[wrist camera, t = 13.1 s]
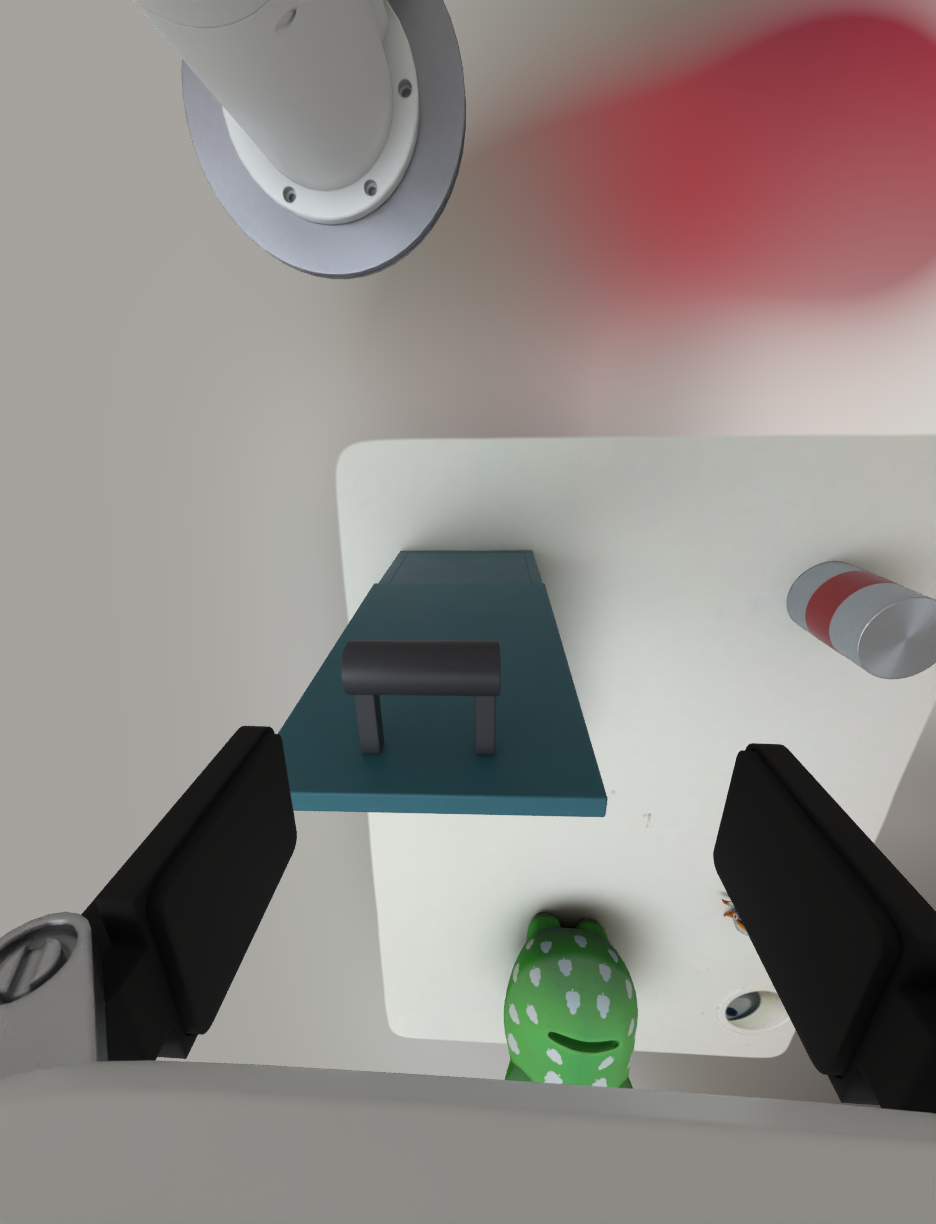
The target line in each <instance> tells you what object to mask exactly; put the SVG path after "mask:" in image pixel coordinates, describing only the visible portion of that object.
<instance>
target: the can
mask: <svg viewBox="0 0 936 1224" xmlns="http://www.w3.org/2000/svg"><path fill="white" fill-rule="evenodd" d="M787 609H788V613H789V615H790V617H791V619H792V620H793V621H794V622H795V623H796V624H797V625H799V626H800V627H802V628H803V629H805V630H806V631H808V632H809V633H811V634H812V635H814V636H815V637H816V638H818V639H819V640H821V641H822V642H824V643H825V644H827V645H828V646H829V647H831V648H832V649H834V650H835V651H837V652H838V653H840V654H841V655H843V656H845V657H846V658H848V659H849V660H851V661H852V662H854V663H855V664H857V665H858V666H860V667H861V668H863V669H864V670H866V671H867V672H869V673H870V674H872V675H874V676H876V677H880V678H885V679H900V678H906V677H909V676H913V675H915V674H918V673H920V672H922V671H924V670H926V669H927V668H929V667H930V666H932V665H933V664H934V663H936V600H935V599H933V598H930V597H928V596H925V595H923V594H920V593H918V592H916V591H913V590H911V589H908V588H906V587H904V586H901V585H899V584H897V583H894V582H892V581H889V580H887V579H884V578H882V577H880V576H877V575H875V574H872V573H869V572H867V571H864V570H862V569H859V568H857V567H854V566H852V565H849V564H847V563H843V562H827V563H822V564H819V565H817V566H815V567H812V568H811V569H809V570H807V571H806V572H805V573H803V574H802V575H801V576H800V577H799V578H798V579H797V580H796V581H795V583H794V584H793V586H792V588H791V589H790V592H789V595H788V599H787Z"/></svg>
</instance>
